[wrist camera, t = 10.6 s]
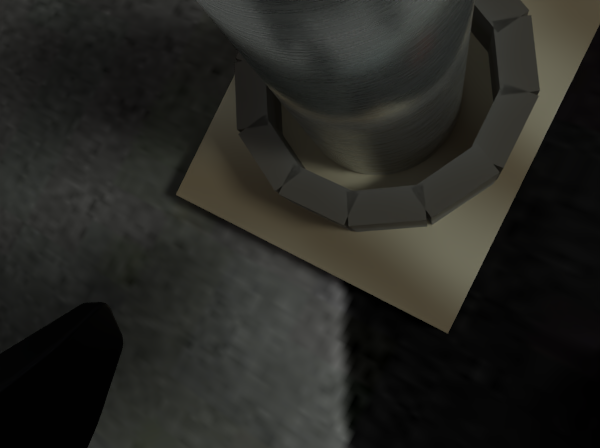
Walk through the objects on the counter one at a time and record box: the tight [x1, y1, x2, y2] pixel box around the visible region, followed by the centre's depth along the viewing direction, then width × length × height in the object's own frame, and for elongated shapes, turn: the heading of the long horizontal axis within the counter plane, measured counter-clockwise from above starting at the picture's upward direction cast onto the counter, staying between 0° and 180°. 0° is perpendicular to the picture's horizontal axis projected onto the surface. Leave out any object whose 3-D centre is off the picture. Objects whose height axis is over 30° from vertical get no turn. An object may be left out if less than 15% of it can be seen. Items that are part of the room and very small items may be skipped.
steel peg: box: [196, 0, 475, 175], centre depth 15 cm, size 6×6×13 cm
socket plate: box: [176, 0, 600, 333], centre depth 20 cm, size 14×12×3 cm
